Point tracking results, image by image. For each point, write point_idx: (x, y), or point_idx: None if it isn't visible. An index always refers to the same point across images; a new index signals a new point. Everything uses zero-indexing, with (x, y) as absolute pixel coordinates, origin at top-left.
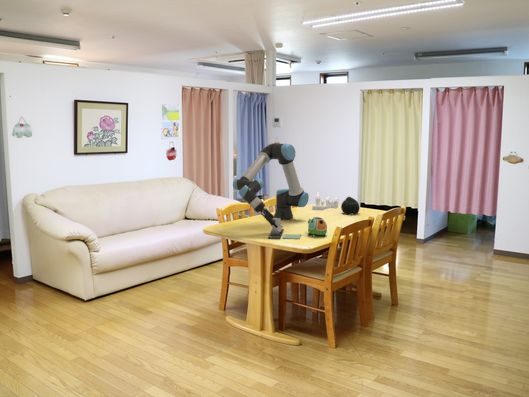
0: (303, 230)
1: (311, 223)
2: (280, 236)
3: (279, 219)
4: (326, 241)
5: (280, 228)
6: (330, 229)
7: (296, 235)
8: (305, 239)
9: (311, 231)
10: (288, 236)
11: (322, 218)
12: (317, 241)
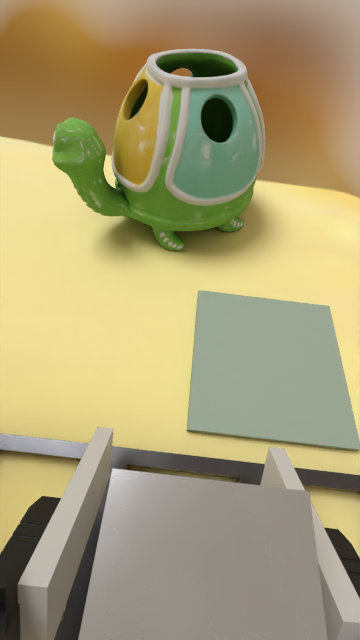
0: (14, 261)
1: (231, 147)
2: (356, 479)
3: (306, 498)
4: (328, 193)
5: (292, 475)
6: (28, 142)
7: (233, 322)
8: (316, 278)
9: (234, 209)
10: (286, 390)
11: (212, 50)
12: (345, 227)
